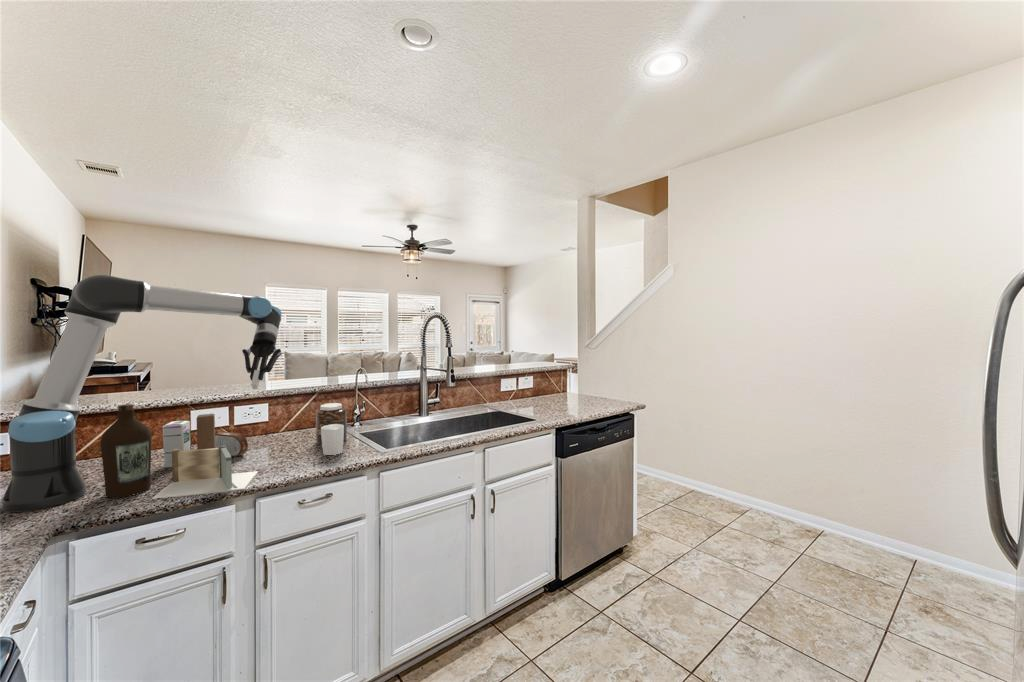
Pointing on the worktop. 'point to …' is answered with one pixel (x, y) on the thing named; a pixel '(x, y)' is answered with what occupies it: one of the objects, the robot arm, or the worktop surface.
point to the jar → (330, 418)
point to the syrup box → (175, 439)
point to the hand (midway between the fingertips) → (254, 386)
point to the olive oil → (126, 455)
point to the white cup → (332, 439)
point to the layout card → (206, 486)
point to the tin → (232, 442)
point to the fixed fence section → (196, 464)
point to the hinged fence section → (226, 467)
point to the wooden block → (205, 431)
